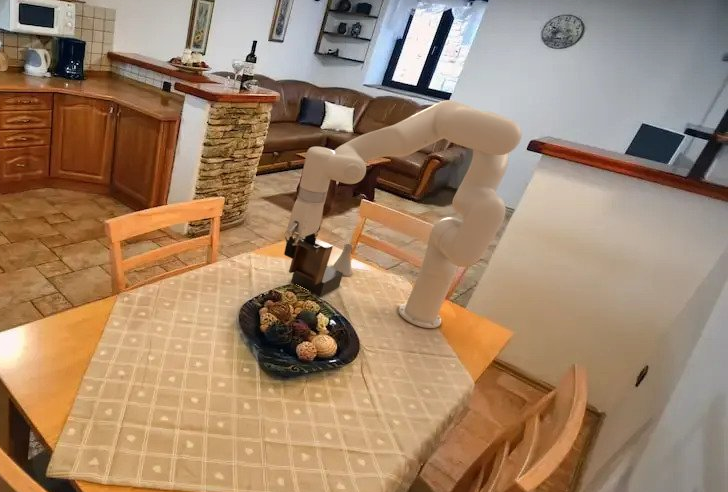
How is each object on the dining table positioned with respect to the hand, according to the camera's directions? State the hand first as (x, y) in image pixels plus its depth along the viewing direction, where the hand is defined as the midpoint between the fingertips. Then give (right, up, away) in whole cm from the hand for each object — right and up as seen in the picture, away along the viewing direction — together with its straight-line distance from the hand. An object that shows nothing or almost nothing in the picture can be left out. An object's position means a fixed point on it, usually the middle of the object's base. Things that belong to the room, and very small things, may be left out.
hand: (298, 252), depth 142 cm
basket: (+6, -1, +10) cm, 12 cm away
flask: (+19, -5, +31) cm, 37 cm away
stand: (+8, -9, +19) cm, 23 cm away
